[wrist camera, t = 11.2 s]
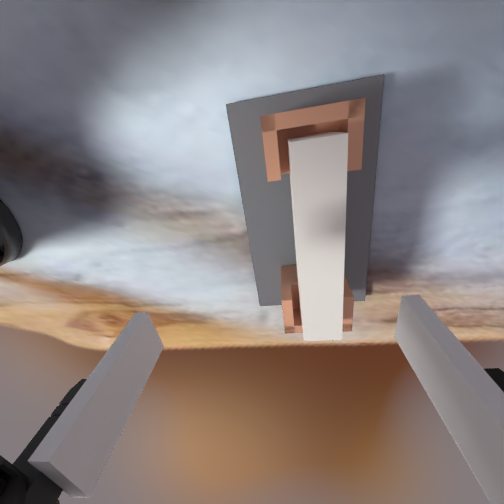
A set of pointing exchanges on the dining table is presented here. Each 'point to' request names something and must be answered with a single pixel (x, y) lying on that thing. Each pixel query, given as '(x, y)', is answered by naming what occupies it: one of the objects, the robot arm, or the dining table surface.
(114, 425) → the robot arm
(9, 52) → the dining table surface
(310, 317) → the slat
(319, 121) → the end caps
